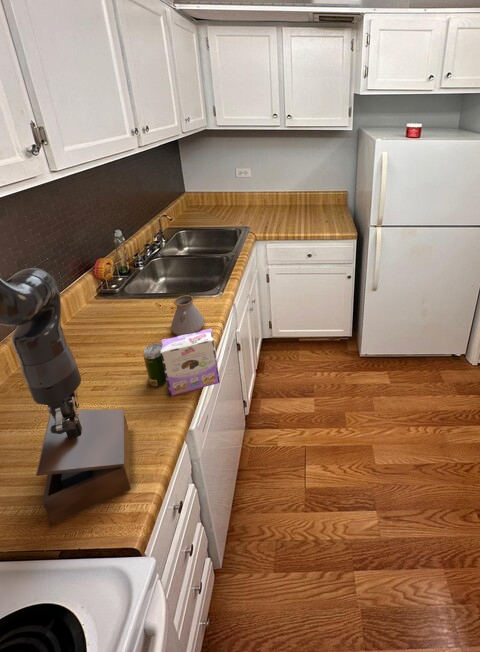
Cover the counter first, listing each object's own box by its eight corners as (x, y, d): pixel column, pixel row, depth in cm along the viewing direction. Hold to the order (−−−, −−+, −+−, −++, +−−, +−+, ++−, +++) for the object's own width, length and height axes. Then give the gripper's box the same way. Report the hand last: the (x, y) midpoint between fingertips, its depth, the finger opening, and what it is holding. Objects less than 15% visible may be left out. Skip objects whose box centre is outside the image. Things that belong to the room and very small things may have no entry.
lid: (35, 476, 60) (37, 472, 60) (49, 413, 72) (51, 410, 72) (123, 466, 68) (124, 463, 68) (122, 412, 80) (124, 409, 80)
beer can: (165, 388, 96) (158, 356, 92) (146, 388, 96) (138, 356, 92) (172, 374, 101) (166, 343, 97) (155, 374, 101) (148, 342, 97)
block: (66, 494, 70) (60, 480, 68) (68, 475, 73) (63, 461, 72) (91, 483, 72) (86, 469, 70) (92, 465, 75) (87, 452, 74)
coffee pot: (172, 323, 124) (166, 289, 118) (205, 317, 127) (200, 284, 122) (168, 364, 105) (161, 325, 100) (206, 355, 109) (201, 318, 103)
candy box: (218, 370, 103) (212, 327, 97) (220, 385, 98) (214, 340, 91) (170, 383, 98) (161, 338, 92) (169, 398, 93) (159, 352, 87)
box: (53, 527, 65) (41, 502, 62) (64, 460, 77) (54, 437, 74) (131, 490, 71) (124, 466, 68) (130, 434, 83) (123, 412, 80)
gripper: (34, 355, 66) (58, 417, 72) (17, 405, 55) (47, 473, 62) (79, 342, 69) (98, 403, 76) (71, 387, 59) (95, 454, 65)
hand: (75, 434), depth 69 cm, fingers closed
